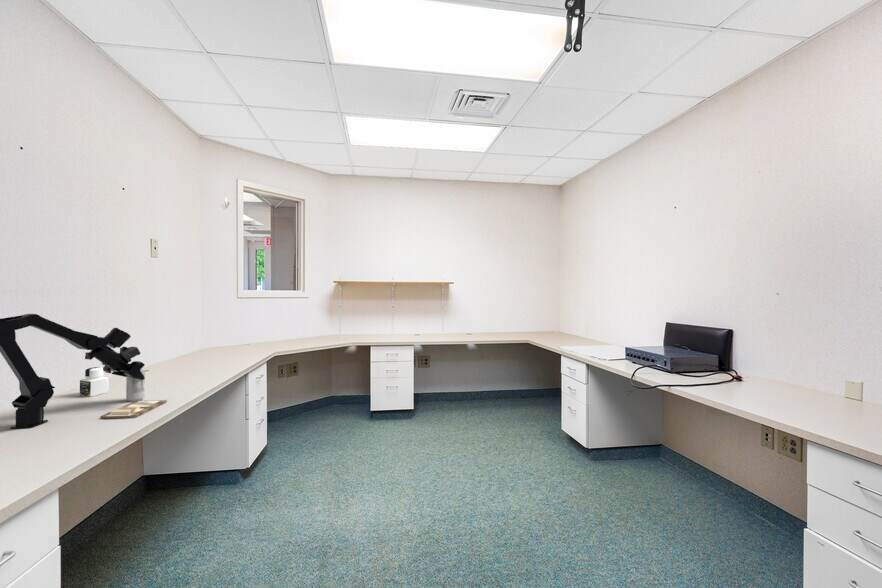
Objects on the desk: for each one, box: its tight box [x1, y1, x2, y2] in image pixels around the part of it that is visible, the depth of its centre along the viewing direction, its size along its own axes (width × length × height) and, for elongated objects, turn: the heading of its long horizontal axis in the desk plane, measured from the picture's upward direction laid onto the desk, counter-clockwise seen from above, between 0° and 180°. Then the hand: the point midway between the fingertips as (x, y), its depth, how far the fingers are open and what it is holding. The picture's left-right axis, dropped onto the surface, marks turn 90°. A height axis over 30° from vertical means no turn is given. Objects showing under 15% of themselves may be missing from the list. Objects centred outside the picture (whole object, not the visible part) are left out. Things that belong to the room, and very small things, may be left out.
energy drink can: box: [125, 366, 146, 403], centre depth 157 cm, size 6×6×15 cm
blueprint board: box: [99, 399, 168, 420], centre depth 143 cm, size 20×12×2 cm, turn 9°
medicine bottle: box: [79, 366, 110, 398], centre depth 165 cm, size 7×7×12 cm
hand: (139, 378), depth 158 cm, fingers closed on energy drink can, 6 cm apart
